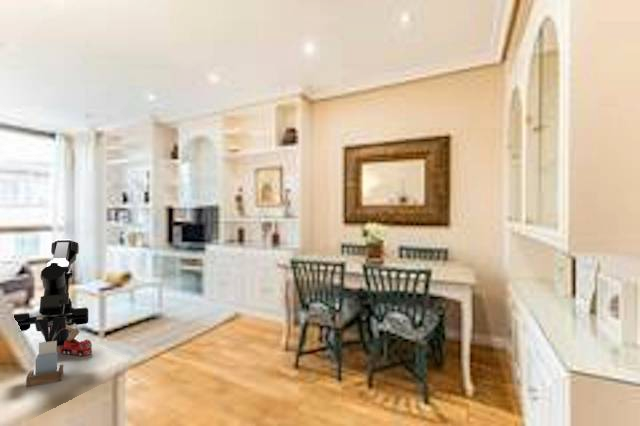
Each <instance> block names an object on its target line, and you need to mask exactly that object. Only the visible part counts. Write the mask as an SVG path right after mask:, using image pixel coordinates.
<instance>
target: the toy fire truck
mask: <svg viewBox="0 0 640 426" xmlns="http://www.w3.org/2000/svg"><path fill="white" fill-rule="evenodd" d="M51 329H52V325H51ZM64 329H68V330H70V334H69V336H68V338H67V340H66V341H64V345H59V353H61V354H63V355H66V354H67V356H70V355H75V356H78V357H84V356H87V355H90V354H92V347H93V345H92V342H91V340H90V339H86V338H85V340H81V341H78V339H76V337H77V335H79V333H80V332H81V331H80V330H79V328H77V327H74V326H72V325H70V326H69V325H67V322H66V328H64ZM64 329H62V330H64Z"/></svg>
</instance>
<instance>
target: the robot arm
mask: <svg viewBox="0 0 640 426" xmlns="http://www.w3.org/2000/svg"><path fill="white" fill-rule="evenodd" d="M79 247H80V245H79V242H76V241H74V240H72V239H70V238H67V239H65V238H63V239H60V238H59V239H55V241H54V242H52V243H51V251H50V253H51V255H52V256H53V258H52V260H50V261H49V262H47V263H46V266H45V267H44V268H43V269H42V270H41V271H40V280H41V281H42V282H41V283H42V286H43V289H44V291H43V295H42V296H40V301H39V311H38V312H39V314H37V315H36V316H30V312H23V313H22V312H21V313H14V314H13V315H14V318H15V320H16V321H17V322H18V325H19V326H20V329H21V331H20V332H24V331H28V330H29V329H30V328H31V325H34V326H35V330H36V332H40V333H41V334H42V336H43V338H44V342H50V341H57V346H63V345H64V341H66V340H67V338H68V336H69V334H70V333H71V331H70V330H68V329H64V328H66V322H67V325H69V326H74V325H76V326H79V325H80V326H81V325H86V324H89V316H90V315H89V313H90V312H89V308H88V307H84V306H83V307H73V301H72V300H71V298H70V293H69V289H70V288H69V287H70V280H71V279H72V278H73V276H74V273H75V271H74V270H73V267H72V264H74V263H75V261H76V260H77V255H79V252H80V248H79ZM51 325H52V329H51ZM62 329H64V330H62Z"/></svg>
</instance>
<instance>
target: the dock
mask: <svg viewBox="0 0 640 426" xmlns="http://www.w3.org/2000/svg"><path fill="white" fill-rule="evenodd" d="M63 375H64V364H59V367H58V369H57V371H55V372H48V373H42V374H36V375H35V369H34V368H32V369H31V368H30V369H29V371H28V374H27V375H26V381H25V383H26V384H25V387H26V388H27V387H32V386H33V387H34V386H39V385H43V384H49V383H56V382H61V381H62V378H63Z"/></svg>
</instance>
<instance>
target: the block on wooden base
mask: <svg viewBox="0 0 640 426" xmlns="http://www.w3.org/2000/svg"><path fill="white" fill-rule="evenodd" d="M57 346H58V345H57V341H50V342H45V341H44V342H43V341H42V342H38V353H37V355H36V357H35V369H34V375H36V374H42V373H48V372H55V371H58V353H59V352H58V351H57Z"/></svg>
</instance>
